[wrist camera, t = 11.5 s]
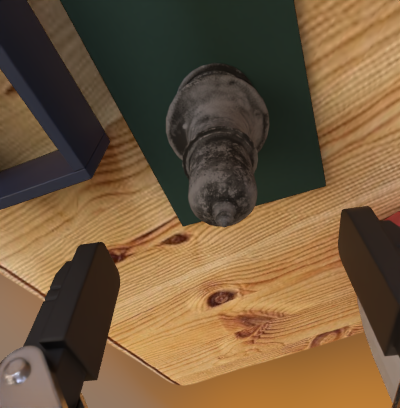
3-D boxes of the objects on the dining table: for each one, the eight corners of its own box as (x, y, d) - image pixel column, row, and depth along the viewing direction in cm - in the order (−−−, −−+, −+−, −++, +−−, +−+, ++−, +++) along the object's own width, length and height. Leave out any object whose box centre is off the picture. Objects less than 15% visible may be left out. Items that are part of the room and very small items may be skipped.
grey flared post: (279, 100, 21) (342, 220, 12) (218, 161, 24) (228, 297, 14) (211, 35, 19) (220, 116, 9) (152, 110, 22) (112, 232, 12)
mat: (36, -52, 17) (31, -52, 17) (260, -174, 14) (262, -179, 14) (183, 222, 28) (182, 226, 28) (324, 182, 26) (326, 186, 25)
